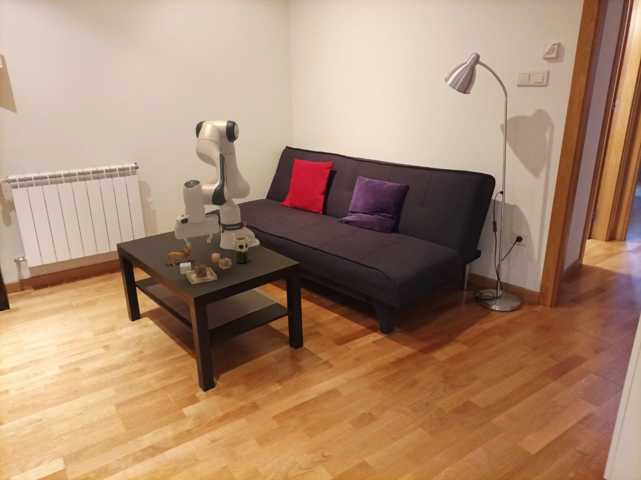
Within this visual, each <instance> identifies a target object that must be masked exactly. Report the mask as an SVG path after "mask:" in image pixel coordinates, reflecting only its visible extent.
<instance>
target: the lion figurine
mask: <svg viewBox="0 0 641 480" xmlns="http://www.w3.org/2000/svg"><path fill="white" fill-rule="evenodd" d="M192 247H193V246H192V245H191V246H190V247H187V245H186V246H184V248H183V249H181V250H180V251H178V252H176V251H171V252H169V253H168V254H167V256H166V262H165V264H164V266H167V265H170V264H172V266H173V267H175V266H176V263H175V262H174V261H175V259H177V260H181V259H182V263H188V260H187V259H188V258H190V256H191V254H192V253H193V248H192ZM170 261H171V262H170Z"/></svg>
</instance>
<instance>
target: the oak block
mask: <svg viewBox="0 0 641 480" xmlns="http://www.w3.org/2000/svg"><path fill="white" fill-rule="evenodd" d="M218 267H219V268H220V269H222V270H227V269H231V268H232V259H230V258H228V257H225V258H224V257H223V258H220V260H219V263H218Z"/></svg>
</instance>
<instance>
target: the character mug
mask: <svg viewBox="0 0 641 480" xmlns="http://www.w3.org/2000/svg"><path fill="white" fill-rule="evenodd" d="M248 242H249V244H248ZM231 245H232V249H235V250H234V251H236V260H235V261H236V262H237V263H239V264H243V263H244V264H245V263H248V262H249V255H248V250H249V249H250V247H249V246H250V245H251V240H248V237H246V236H238V237H235V238H234V243H232V244H231ZM233 245H234V246H235V247H233ZM232 249H231V250H232Z"/></svg>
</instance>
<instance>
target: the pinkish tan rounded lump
mask: <svg viewBox="0 0 641 480" xmlns="http://www.w3.org/2000/svg"><path fill="white" fill-rule="evenodd" d="M220 259H221V255H220V253H218V252H213V253H211V261H212V262H211V263H213V264H219V260H220Z"/></svg>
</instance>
